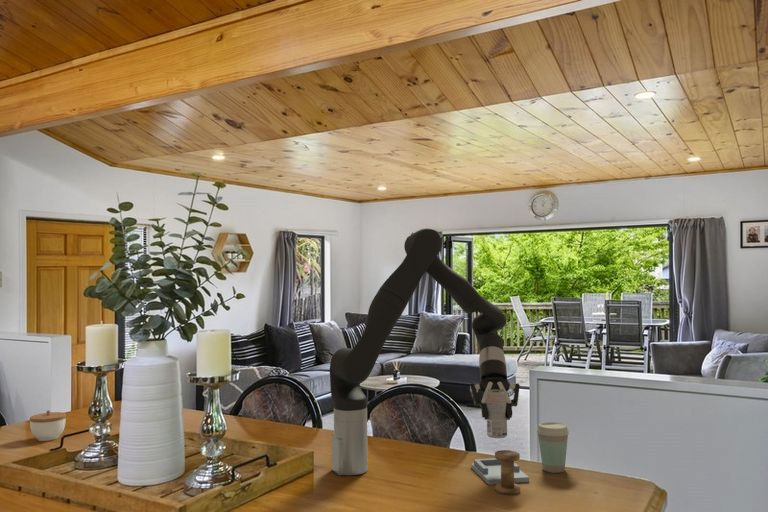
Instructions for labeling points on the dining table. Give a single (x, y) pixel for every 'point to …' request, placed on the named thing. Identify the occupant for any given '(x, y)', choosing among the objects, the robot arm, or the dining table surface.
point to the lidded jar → (47, 425)
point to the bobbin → (507, 472)
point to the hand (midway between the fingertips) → (497, 418)
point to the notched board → (495, 471)
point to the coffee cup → (553, 445)
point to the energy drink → (496, 413)
